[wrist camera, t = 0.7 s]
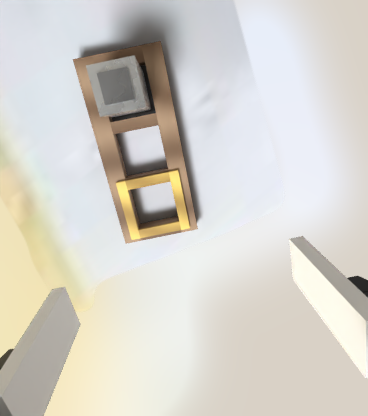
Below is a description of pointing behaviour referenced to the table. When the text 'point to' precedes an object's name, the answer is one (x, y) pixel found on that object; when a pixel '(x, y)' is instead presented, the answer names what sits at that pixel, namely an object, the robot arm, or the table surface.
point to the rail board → (108, 129)
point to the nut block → (119, 87)
